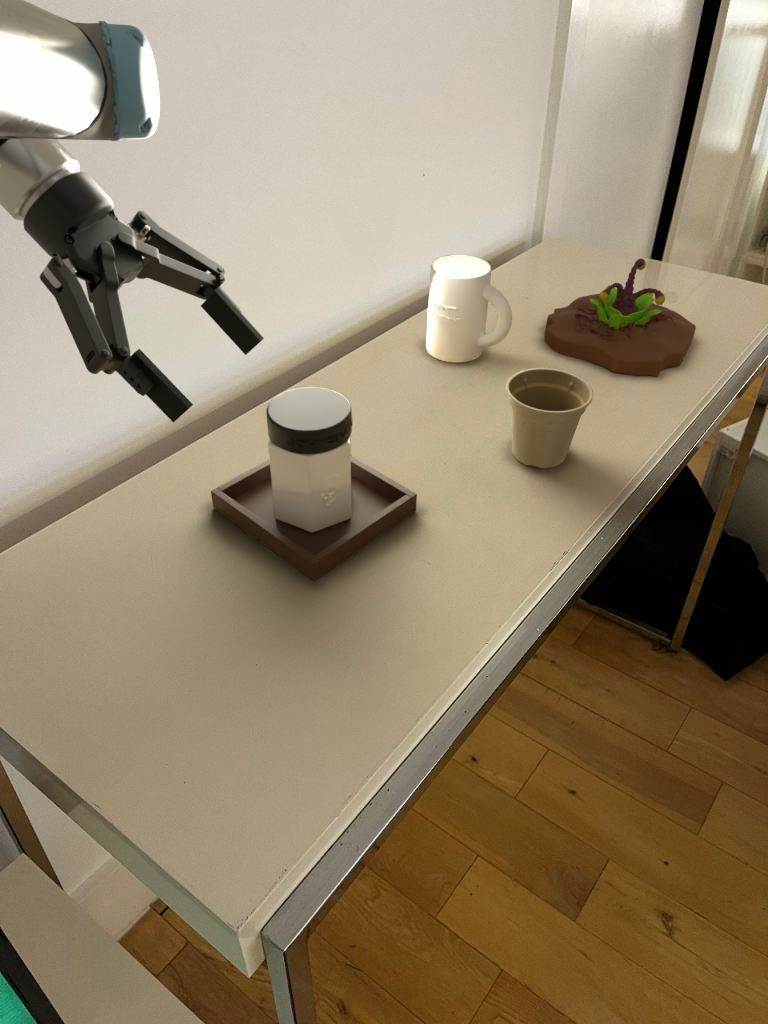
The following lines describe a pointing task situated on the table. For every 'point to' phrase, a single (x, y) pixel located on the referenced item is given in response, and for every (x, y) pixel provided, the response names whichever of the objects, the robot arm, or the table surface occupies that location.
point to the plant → (621, 329)
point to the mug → (463, 309)
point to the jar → (310, 457)
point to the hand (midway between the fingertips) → (221, 378)
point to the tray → (321, 551)
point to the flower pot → (545, 414)
